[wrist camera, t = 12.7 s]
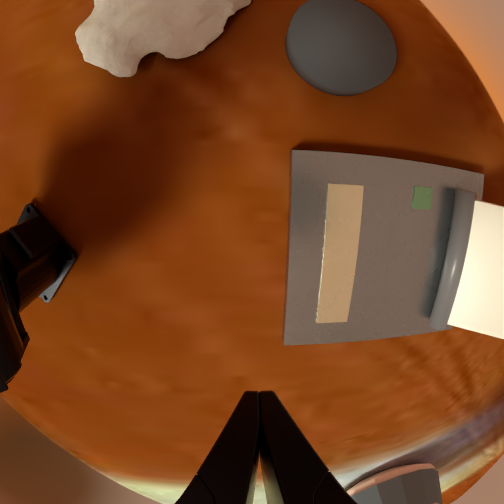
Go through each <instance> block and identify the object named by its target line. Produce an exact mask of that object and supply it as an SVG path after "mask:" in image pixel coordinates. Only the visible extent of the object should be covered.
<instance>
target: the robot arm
mask: <svg viewBox="0 0 504 504" xmlns="http://www.w3.org/2000/svg"><path fill="white" fill-rule="evenodd" d="M29 208H30V210H31V211H30V210H29ZM70 255H71V256H72V258H71V257H70ZM76 259H77V254H76V252H75V251H74V250H73V249H72V248H71V246H70V245H69V244H68V243H67V242H66V241H65V240H64V239H63V238H62V237H61V236H60V234H59V233H58V232H57V231H56V230H55V229H54V228H53V226H52V225H51V224H50V223H49V222H48V221H47V220H46V218H45V217H44V216H43V215H42V214H41V213H40V212H39V210H38V209H37V208H36V207H35V206H34V204H32V203H29V204H27V205H26V206H25V208H24V210H23V212H22V214H21V216H20V218H19V220H18V223H17V225H15V226H13V227H10V228H9V230H6V231H4V232H2V233H0V393H1V392H3V391H6V390H8V386H7V384H8V383H9V382H10V381H11V380H12V379H13V378H14V376H15V375H16V374H17V372H18V371H19V370H20V368H21V366H22V364H21V362H20V361H21V359H22V356H23V354H24V351H25V349H26V347H27V344H28V342H29V340H30V338H29V336H28V333H27V332H26V331H25V328H24V326H23V323H22V320H21V317H20V315H19V313H20V312H21V311H22V310H23V309H24V308H25V307H27V306H28V305H29V304H30V303H31V302H32V301H34V300H35V299H36V298H37V297H38V296H40V297H41V298H42V299H43V301H45V302H46V303H48V302H50V301H51V300H52V298H53V296H54V295H55V293H56V291H57V290H58V288H59V286H60V285H61V283H62V281H63V280H64V278H65V276H66V275H67V273H68V272H69V270H70V268H71V267H72V265H73V264H74V262H75V261H76ZM46 296H47V297H46ZM259 454H260V463H261V469H262V475H263V481H264V486H265V492H266V498H267V504H358V503H357V502H356V501H355V500H354V499H353V498H352V497H351V496H350V495H349V494H348V493H347V492H346V491H345V490H344V488H343V487H342V486H341V485H340V484H339V482H338V481H337V480H336V478H335V477H334V476H333V474H332V473H331V472H328V471H329V469H328V468H327V467H326V465H325V464H324V463H323V461H322V460H321V458H320V457H319V456H318V454H317V453H316V452H315V450H314V449H313V447H312V446H311V445H310V443H309V442H308V440H307V439H306V438H305V436H304V435H303V433H302V432H301V431H300V429H299V428H298V426H297V425H296V423H295V422H294V420H293V419H292V418H291V416H290V415H289V413H288V412H287V410H286V409H285V407H284V406H283V404H282V403H281V401H280V400H279V398H278V397H277V395H276V394H275V392H274V391H260V392H258V391H245V392H244V394H243V395H242V397H241V399H240V401H239V403H238V404H237V406H236V408H235V410H234V411H233V413H232V415H231V417H230V418H229V420H228V422H227V424H226V425H225V427H224V429H223V430H222V432H221V434H220V436H219V437H218V439H217V441H216V442H215V444H214V446H213V447H212V449H211V451H210V452H209V454H208V456H207V457H206V459H205V460H204V462H203V464H202V465H201V467H200V469H199V470H198V472H197V475H195V476H194V478H193V479H192V481H191V482H190V484H189V486H188V487H187V488H186V490H185V491H184V493H183V494H182V495H181V497H180V498H179V499H178V500H177V502H176V503H175V504H253V497H254V490H255V483H256V476H257V469H258V461H259Z"/></svg>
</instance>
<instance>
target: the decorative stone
mask: <svg viewBox="0 0 504 504" xmlns="http://www.w3.org/2000/svg"><path fill="white" fill-rule="evenodd" d="M250 3H251V0H94V5H95V7H94V9H93V12H92V14H91V15H90V16H89V17H88V18H87V19H86V20H85V21H84V22H83V23H82V24H81V25H80V26H79V28H78V29H77V30H76V33H75V35H76V41H77V43H78V44H79V48H80V50H81V52H82V54H83V58H84V60H85V62H89V63H91V64H93V65H95V66H99V67H101V68H103V69H106V70H108V71H109V72H110V73H111V74H113V75H115V76H118V77H131V76H133V75H135V74H136V72H137V68H138V64H139V62H140V60H141V59H142V58H143V57H144V56H145V55H146V54H149V53H151V52H159V53H161V54H163V55H164V56H165V57H167V58H175V59H181V58H186V57H188V56H191V55H194V54H197V52H199V51H203V50H204V48H205V47H206V46H207V45H208V44H210V43H211V42H212V41H214V40H215V39H216V38H217V37H218V36H219V35H220V34H221V33H222V32H223V31H224V30H223V28H224V26H225V23H226V21H227V18H228V17H229V16H231V15H233V14H235V12H236V11H237V10H239V9H241V8H243V7H245V6H248V5H249V4H250Z"/></svg>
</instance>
